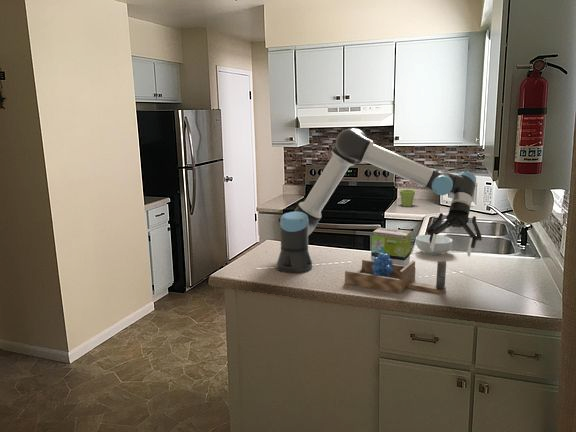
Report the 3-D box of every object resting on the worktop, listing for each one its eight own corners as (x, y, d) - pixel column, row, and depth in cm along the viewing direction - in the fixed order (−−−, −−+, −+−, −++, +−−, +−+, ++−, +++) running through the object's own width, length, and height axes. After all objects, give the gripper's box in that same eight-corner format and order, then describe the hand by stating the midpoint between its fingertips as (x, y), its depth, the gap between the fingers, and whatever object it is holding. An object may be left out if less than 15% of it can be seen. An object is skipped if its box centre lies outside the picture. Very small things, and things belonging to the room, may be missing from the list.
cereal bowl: (442, 260, 220) (443, 244, 219) (408, 253, 231) (409, 239, 229) (457, 252, 233) (458, 237, 231) (424, 246, 243) (425, 232, 242)
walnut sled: (450, 285, 186) (451, 256, 184) (438, 300, 171) (440, 268, 169) (362, 271, 204) (363, 244, 202) (344, 283, 189) (345, 254, 187)
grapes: (381, 288, 184) (382, 257, 182) (367, 283, 189) (368, 253, 187) (400, 281, 191) (401, 251, 189) (386, 277, 196) (387, 248, 194)
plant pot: (401, 204, 363) (401, 189, 361) (417, 205, 357) (417, 190, 355) (396, 206, 353) (396, 191, 351) (412, 208, 347) (413, 192, 345)
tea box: (370, 264, 214) (371, 231, 212) (377, 258, 223) (378, 226, 220) (404, 268, 208) (405, 235, 205) (410, 262, 216) (411, 230, 213)
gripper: (494, 214, 191) (485, 261, 181) (430, 209, 203) (418, 252, 193) (493, 203, 185) (484, 251, 175) (427, 198, 197) (415, 242, 188)
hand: (449, 252), depth 184 cm, fingers open, 13 cm apart
